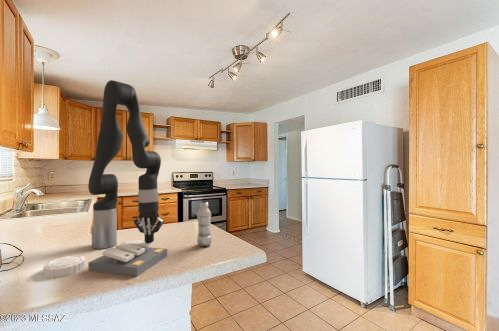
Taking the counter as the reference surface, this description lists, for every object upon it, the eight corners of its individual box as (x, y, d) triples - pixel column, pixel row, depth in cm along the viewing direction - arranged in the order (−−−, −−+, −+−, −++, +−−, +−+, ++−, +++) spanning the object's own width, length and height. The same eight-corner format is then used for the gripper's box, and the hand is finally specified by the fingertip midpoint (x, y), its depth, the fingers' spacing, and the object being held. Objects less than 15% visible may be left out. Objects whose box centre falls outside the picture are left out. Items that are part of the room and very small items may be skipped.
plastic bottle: (208, 248, 107) (208, 203, 106) (194, 247, 108) (194, 203, 108) (213, 243, 113) (213, 201, 113) (200, 242, 114) (200, 201, 114)
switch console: (88, 270, 85) (88, 258, 85) (125, 252, 102) (125, 241, 102) (137, 276, 80) (137, 263, 80) (167, 256, 98) (166, 245, 98)
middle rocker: (115, 248, 91) (115, 245, 90) (123, 245, 94) (123, 241, 94) (137, 255, 88) (138, 251, 88) (144, 251, 92) (145, 248, 92)
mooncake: (79, 260, 94) (79, 251, 94) (90, 269, 87) (90, 259, 87) (40, 271, 85) (40, 261, 85) (47, 282, 77) (47, 271, 77)
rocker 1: (102, 254, 85) (102, 250, 85) (111, 250, 89) (111, 247, 89) (126, 262, 83) (126, 258, 82) (134, 257, 86) (134, 253, 86)
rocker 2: (126, 246, 96) (126, 242, 96) (133, 242, 100) (133, 239, 100) (148, 247, 94) (148, 243, 94) (154, 243, 98) (154, 240, 98)
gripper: (127, 201, 94) (128, 245, 94) (157, 202, 91) (158, 247, 91) (140, 198, 101) (141, 239, 101) (168, 199, 98) (169, 241, 98)
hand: (149, 243), depth 96 cm, fingers closed
